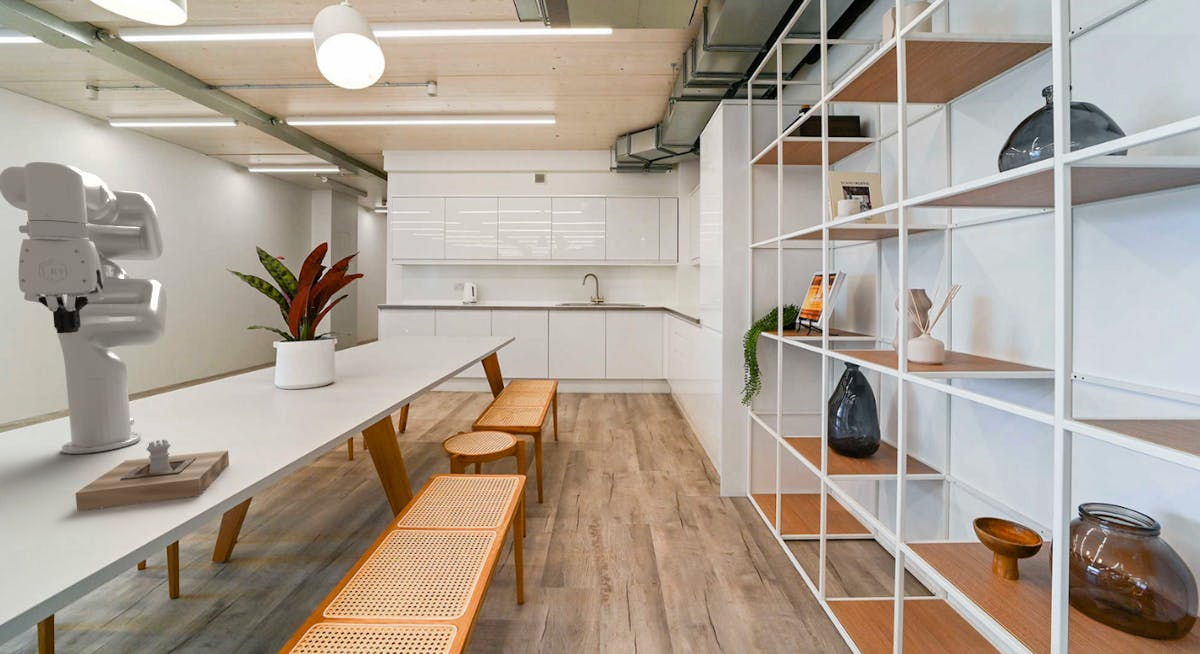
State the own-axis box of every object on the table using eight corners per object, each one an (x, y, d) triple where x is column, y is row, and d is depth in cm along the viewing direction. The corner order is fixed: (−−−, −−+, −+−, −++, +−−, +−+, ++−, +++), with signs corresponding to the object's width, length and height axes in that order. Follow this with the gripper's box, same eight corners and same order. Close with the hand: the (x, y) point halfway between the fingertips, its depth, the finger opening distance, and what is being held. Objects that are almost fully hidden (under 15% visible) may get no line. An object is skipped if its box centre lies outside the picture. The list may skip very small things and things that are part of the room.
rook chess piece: (158, 491, 88) (154, 446, 87) (137, 489, 89) (134, 444, 88) (183, 481, 92) (181, 439, 92) (164, 479, 93) (161, 437, 92)
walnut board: (127, 475, 95) (125, 458, 95) (229, 464, 101) (228, 448, 101) (77, 511, 80) (75, 491, 80) (199, 495, 86) (198, 477, 86)
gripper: (-12, 229, 86) (-2, 335, 88) (101, 232, 92) (109, 333, 93) (18, 233, 93) (27, 332, 95) (122, 236, 99) (129, 329, 100)
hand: (68, 332), depth 94 cm, fingers closed
